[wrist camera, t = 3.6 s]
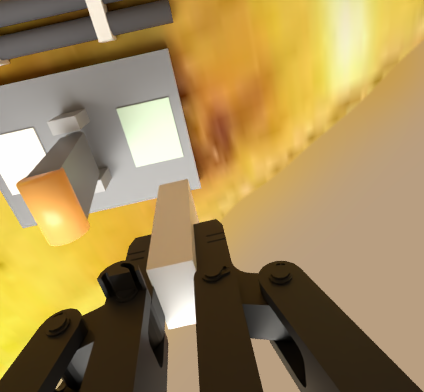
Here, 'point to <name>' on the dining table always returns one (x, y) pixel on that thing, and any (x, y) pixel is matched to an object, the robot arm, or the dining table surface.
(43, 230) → the breaker lever
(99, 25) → the dressed cords
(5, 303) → the dining table surface
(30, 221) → the breaker panel
